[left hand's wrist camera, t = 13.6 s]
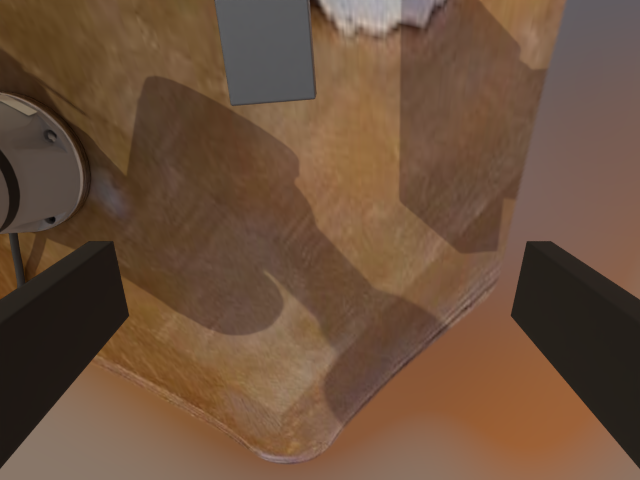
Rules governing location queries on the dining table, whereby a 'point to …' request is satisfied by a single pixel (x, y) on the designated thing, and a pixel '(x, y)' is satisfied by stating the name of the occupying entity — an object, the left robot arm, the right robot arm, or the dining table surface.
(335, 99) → the dining table surface
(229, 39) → the bar
